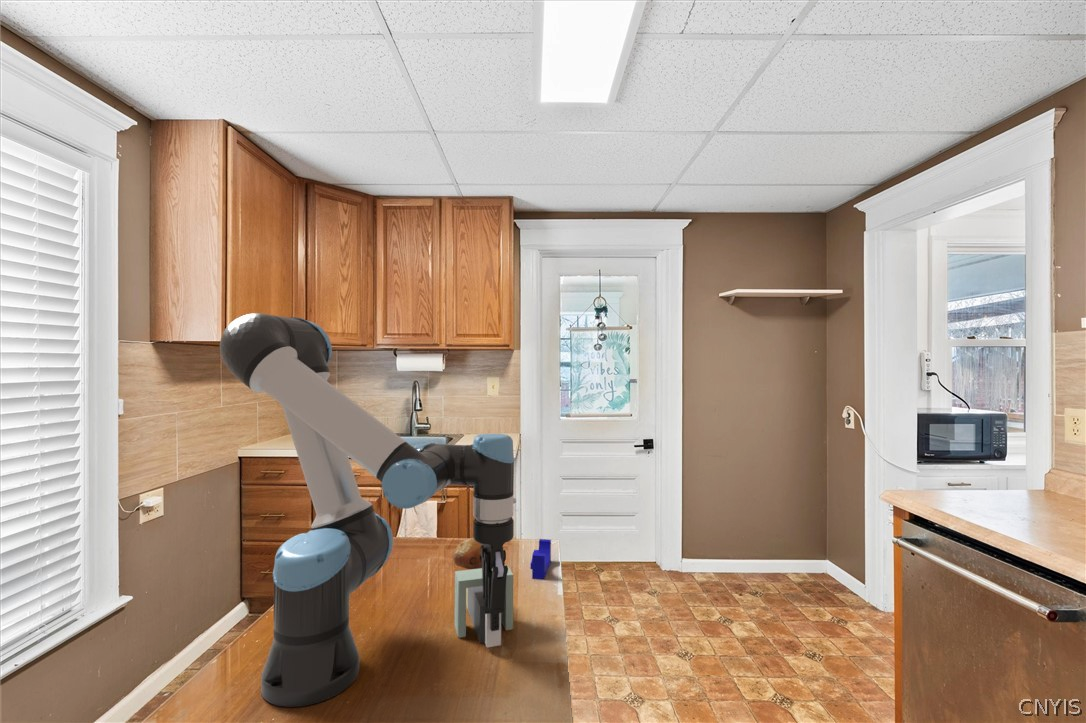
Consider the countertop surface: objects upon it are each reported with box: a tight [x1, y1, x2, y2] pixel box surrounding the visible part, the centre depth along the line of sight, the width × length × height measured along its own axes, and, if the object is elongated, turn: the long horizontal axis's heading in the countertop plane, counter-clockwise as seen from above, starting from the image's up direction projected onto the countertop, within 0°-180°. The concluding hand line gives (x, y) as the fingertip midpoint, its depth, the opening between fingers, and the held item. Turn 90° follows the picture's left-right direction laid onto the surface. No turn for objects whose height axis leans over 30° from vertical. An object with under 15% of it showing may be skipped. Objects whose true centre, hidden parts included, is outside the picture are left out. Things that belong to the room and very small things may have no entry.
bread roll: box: [452, 537, 484, 569], centre depth 139 cm, size 10×10×8 cm
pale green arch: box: [453, 564, 514, 639], centre depth 104 cm, size 11×5×11 cm, turn 108°
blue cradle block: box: [530, 538, 552, 581], centre depth 134 cm, size 12×4×6 cm, turn 171°
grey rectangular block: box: [466, 586, 487, 644], centre depth 107 cm, size 4×16×7 cm, turn 18°
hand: (493, 644), depth 96 cm, fingers closed
